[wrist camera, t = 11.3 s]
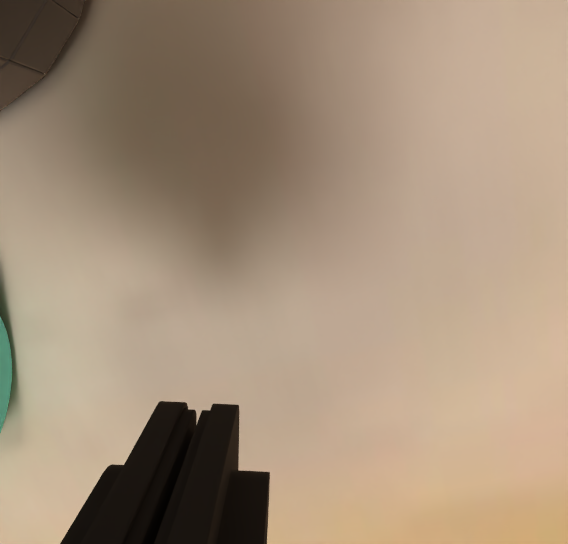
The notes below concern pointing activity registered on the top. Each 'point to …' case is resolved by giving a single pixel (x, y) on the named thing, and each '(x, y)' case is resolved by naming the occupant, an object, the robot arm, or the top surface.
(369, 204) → the top surface
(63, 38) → the pan
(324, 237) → the top surface
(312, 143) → the top surface
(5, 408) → the decorative dice
